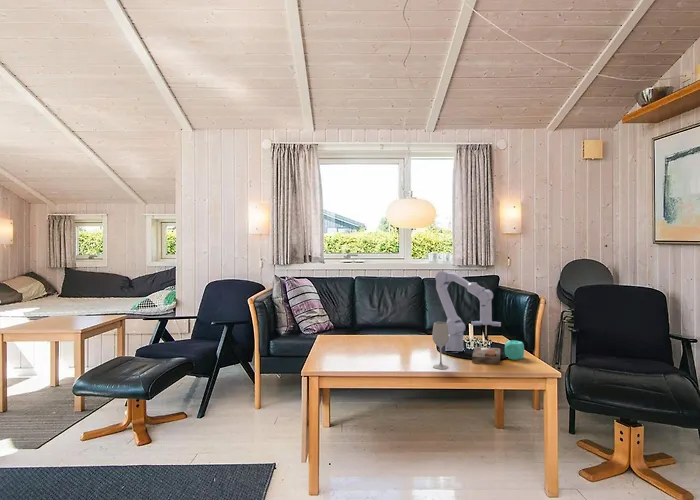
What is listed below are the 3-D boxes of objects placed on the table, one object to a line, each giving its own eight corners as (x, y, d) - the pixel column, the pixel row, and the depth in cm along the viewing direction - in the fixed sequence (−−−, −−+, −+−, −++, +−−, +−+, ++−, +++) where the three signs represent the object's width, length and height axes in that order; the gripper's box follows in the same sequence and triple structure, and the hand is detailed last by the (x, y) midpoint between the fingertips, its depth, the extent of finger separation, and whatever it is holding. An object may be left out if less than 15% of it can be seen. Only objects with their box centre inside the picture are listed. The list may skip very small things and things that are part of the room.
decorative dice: (524, 357, 228) (524, 341, 228) (521, 360, 222) (521, 344, 222) (507, 355, 233) (507, 339, 232) (504, 358, 226) (504, 342, 226)
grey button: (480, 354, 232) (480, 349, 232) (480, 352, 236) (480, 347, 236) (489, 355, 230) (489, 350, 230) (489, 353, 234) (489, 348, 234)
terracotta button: (485, 356, 220) (485, 350, 220) (486, 354, 224) (486, 348, 224) (495, 357, 219) (495, 351, 219) (495, 354, 223) (495, 349, 223)
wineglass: (443, 364, 217) (442, 320, 216) (452, 368, 210) (451, 323, 209) (429, 366, 214) (429, 322, 214) (438, 370, 207) (437, 324, 206)
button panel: (472, 362, 219) (472, 356, 219) (474, 352, 239) (474, 346, 239) (500, 364, 215) (500, 358, 215) (500, 354, 235) (500, 348, 235)
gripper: (470, 314, 229) (471, 340, 229) (500, 315, 225) (501, 342, 225) (471, 312, 236) (471, 337, 236) (500, 313, 231) (500, 339, 232)
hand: (486, 339), depth 231 cm, fingers closed
